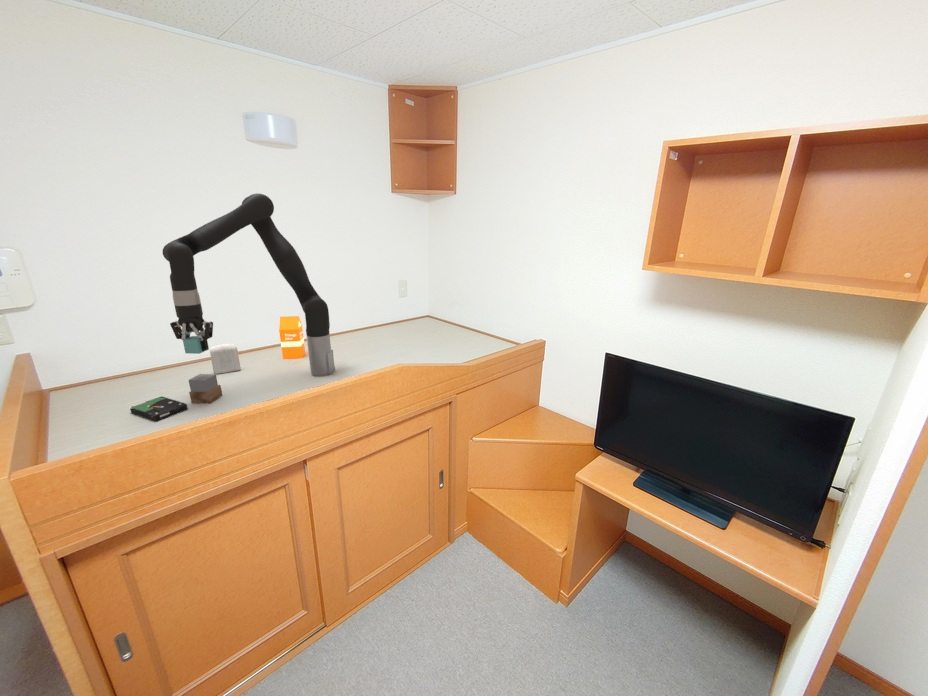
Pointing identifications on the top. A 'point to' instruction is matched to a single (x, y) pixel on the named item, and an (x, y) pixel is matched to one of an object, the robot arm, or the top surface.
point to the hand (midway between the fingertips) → (197, 350)
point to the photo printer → (225, 358)
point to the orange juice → (291, 337)
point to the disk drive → (158, 408)
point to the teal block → (192, 345)
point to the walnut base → (206, 395)
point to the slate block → (203, 382)
